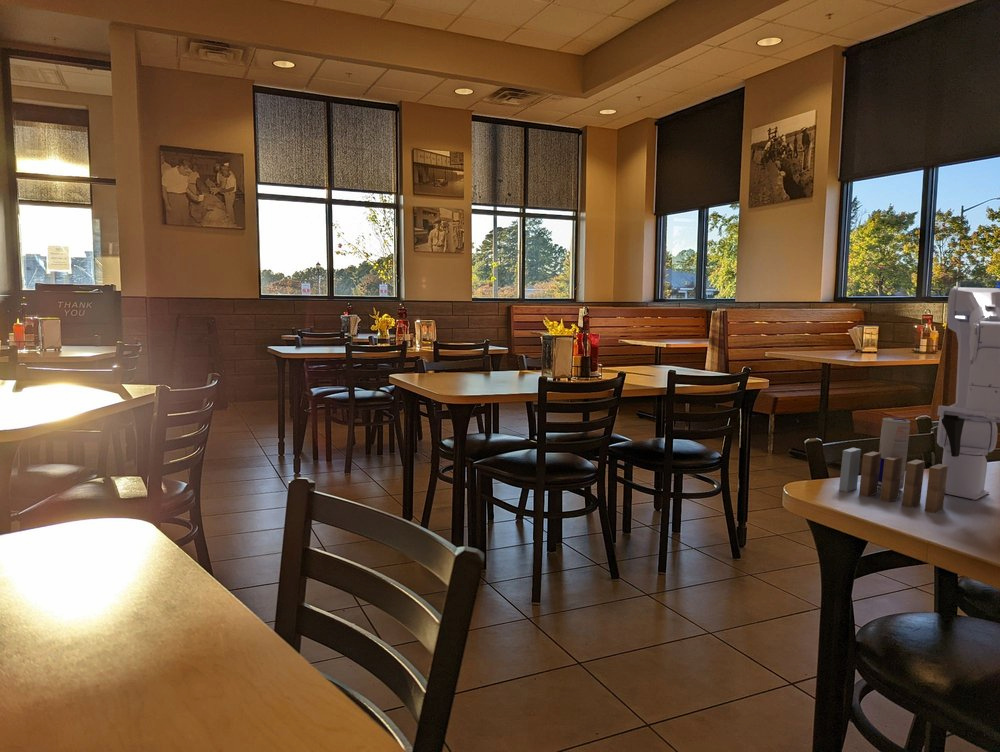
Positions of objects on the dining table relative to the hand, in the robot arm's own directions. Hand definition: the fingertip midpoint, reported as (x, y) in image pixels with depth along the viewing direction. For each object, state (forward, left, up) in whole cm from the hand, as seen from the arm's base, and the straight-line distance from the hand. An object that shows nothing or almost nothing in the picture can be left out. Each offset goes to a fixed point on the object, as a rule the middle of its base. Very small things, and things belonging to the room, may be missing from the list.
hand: (978, 460), depth 127 cm
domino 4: (+2, -10, -11) cm, 15 cm away
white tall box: (-6, -17, -11) cm, 21 cm away
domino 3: (+2, -14, -11) cm, 18 cm away
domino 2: (+2, -18, -11) cm, 21 cm away
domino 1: (+2, -22, -11) cm, 24 cm away
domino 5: (+2, -6, -11) cm, 12 cm away
